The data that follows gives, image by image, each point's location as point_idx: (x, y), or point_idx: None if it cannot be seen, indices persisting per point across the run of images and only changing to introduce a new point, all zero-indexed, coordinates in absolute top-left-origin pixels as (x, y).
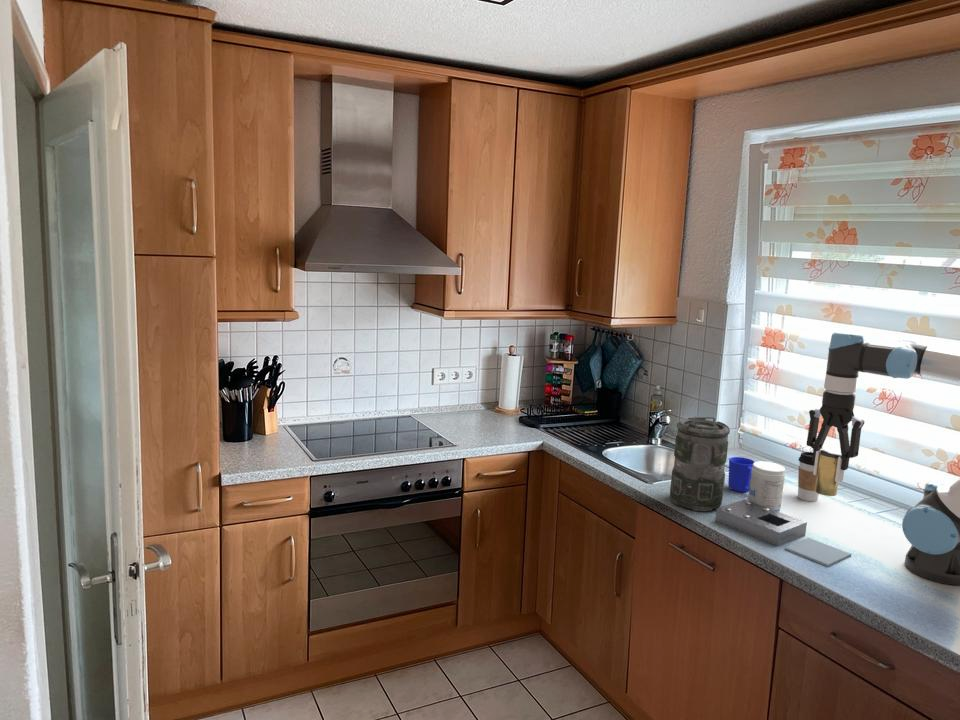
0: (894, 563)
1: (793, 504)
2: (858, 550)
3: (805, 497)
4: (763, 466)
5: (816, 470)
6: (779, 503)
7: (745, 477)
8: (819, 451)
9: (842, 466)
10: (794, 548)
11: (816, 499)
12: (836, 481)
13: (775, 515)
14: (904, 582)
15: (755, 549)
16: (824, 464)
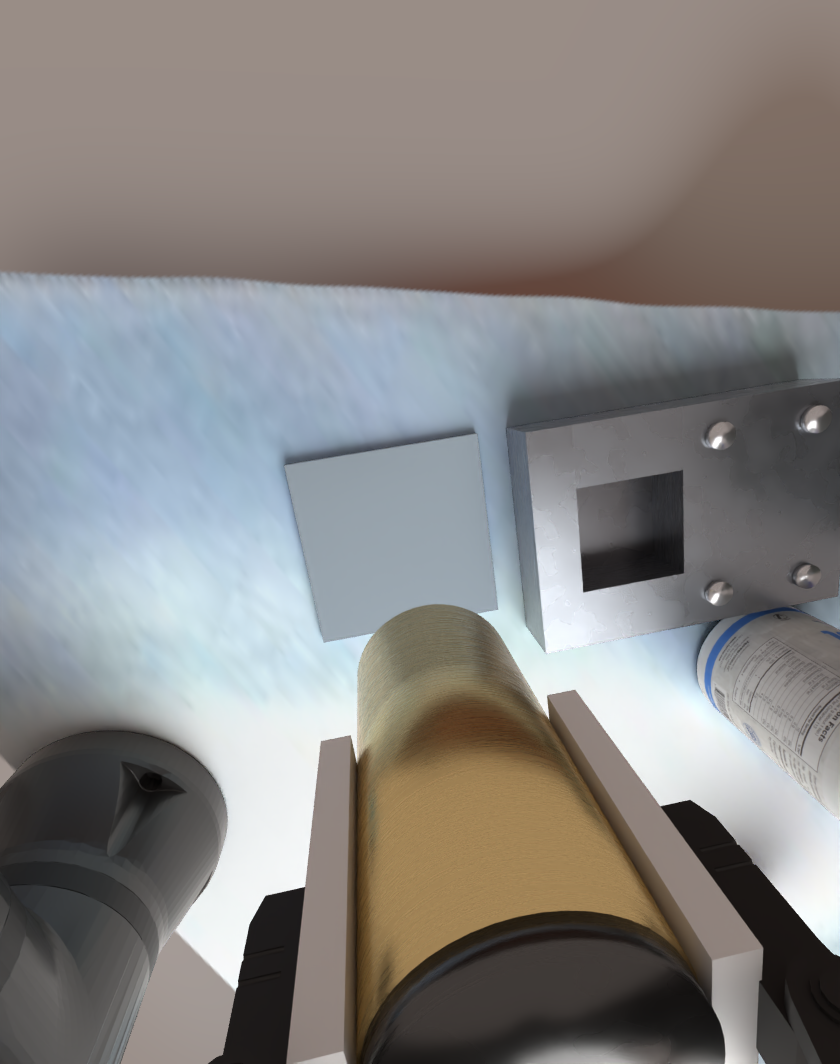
0: (220, 736)
1: (725, 810)
2: (350, 706)
3: None
4: None
5: (566, 727)
6: (728, 703)
7: None
8: (722, 986)
9: (290, 933)
10: (451, 463)
11: None
12: (333, 741)
13: (658, 581)
14: (82, 635)
15: (529, 302)
16: (483, 790)
